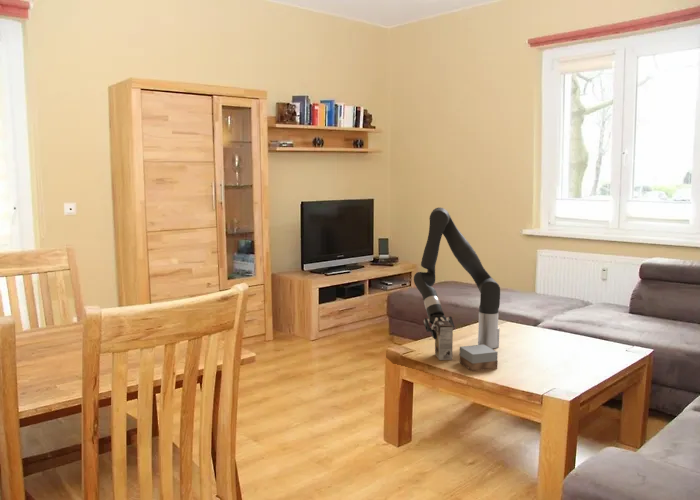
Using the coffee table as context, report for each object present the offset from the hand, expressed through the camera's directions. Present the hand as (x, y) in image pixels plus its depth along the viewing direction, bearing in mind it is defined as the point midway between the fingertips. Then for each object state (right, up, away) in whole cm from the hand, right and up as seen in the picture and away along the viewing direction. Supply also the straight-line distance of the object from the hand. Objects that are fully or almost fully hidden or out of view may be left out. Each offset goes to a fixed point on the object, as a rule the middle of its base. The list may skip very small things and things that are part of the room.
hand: (443, 337), depth 285 cm
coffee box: (0, -9, 0) cm, 9 cm away
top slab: (+13, -7, -12) cm, 20 cm away
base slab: (+14, -11, -12) cm, 21 cm away
